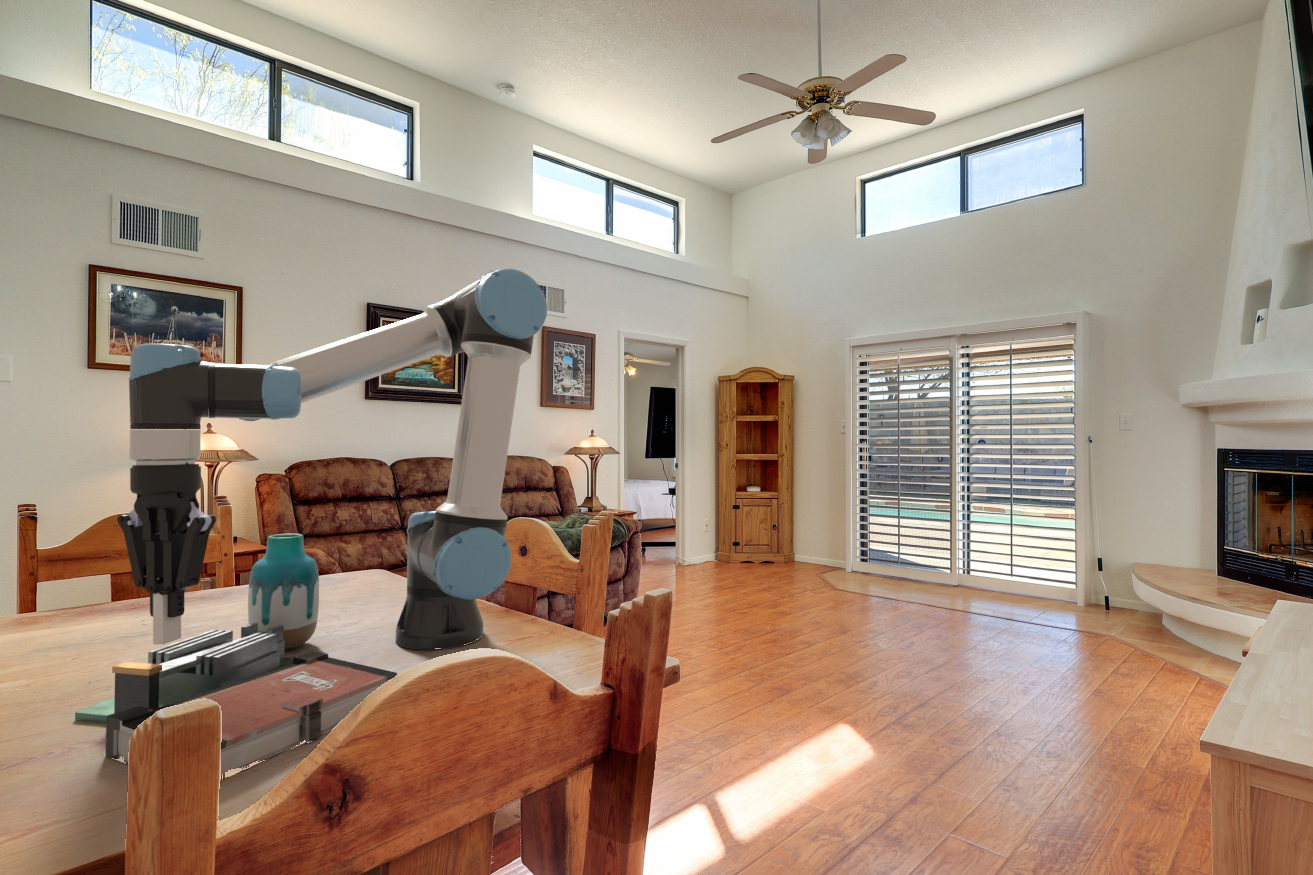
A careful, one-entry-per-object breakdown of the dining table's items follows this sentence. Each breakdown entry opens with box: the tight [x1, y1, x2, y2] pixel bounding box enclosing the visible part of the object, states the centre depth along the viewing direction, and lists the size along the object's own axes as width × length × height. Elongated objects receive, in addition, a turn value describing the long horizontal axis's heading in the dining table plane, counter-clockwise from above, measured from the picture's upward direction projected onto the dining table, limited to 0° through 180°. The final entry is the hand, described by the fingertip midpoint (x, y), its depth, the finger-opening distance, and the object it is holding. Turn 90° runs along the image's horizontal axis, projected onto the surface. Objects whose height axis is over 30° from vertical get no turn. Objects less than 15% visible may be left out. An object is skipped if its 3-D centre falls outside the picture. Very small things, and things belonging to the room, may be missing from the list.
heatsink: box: [74, 623, 293, 725], centre depth 94 cm, size 15×24×7 cm, turn 170°
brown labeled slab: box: [105, 650, 398, 782], centre depth 83 cm, size 26×18×5 cm
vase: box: [247, 533, 320, 650], centre depth 114 cm, size 11×11×19 cm
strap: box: [159, 637, 245, 678], centre depth 95 cm, size 3×20×1 cm, turn 170°
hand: (167, 640), depth 88 cm, fingers closed
